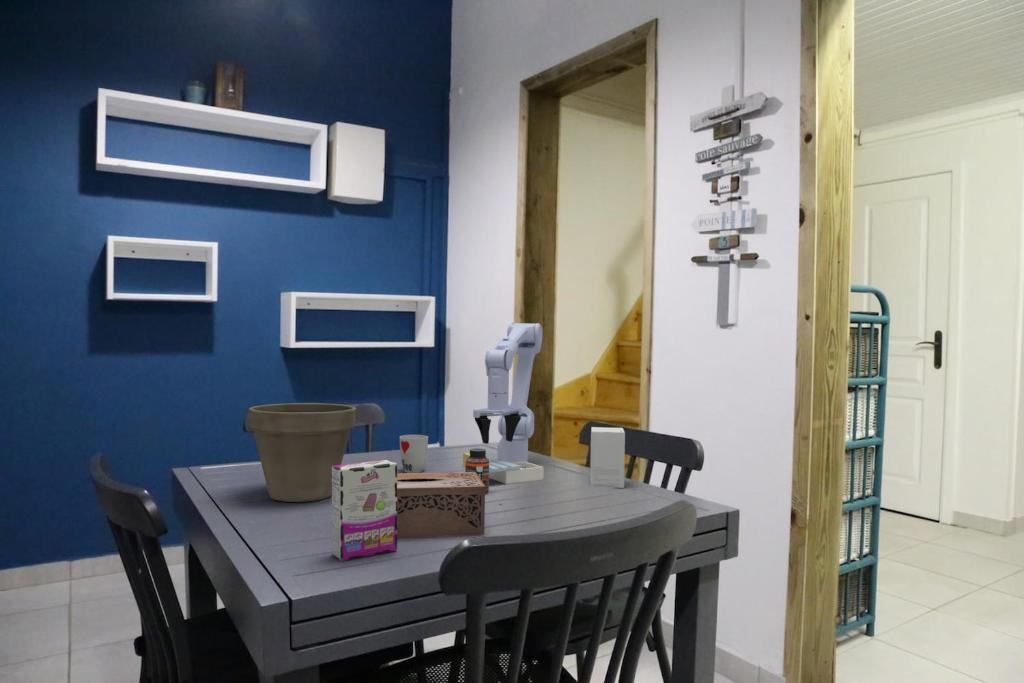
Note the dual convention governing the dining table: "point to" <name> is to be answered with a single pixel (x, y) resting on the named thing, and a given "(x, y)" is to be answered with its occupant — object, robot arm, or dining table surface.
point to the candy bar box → (364, 509)
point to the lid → (495, 464)
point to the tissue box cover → (440, 504)
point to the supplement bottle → (479, 465)
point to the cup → (413, 452)
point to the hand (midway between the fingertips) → (497, 442)
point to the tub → (519, 474)
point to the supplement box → (607, 456)
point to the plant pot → (301, 447)
